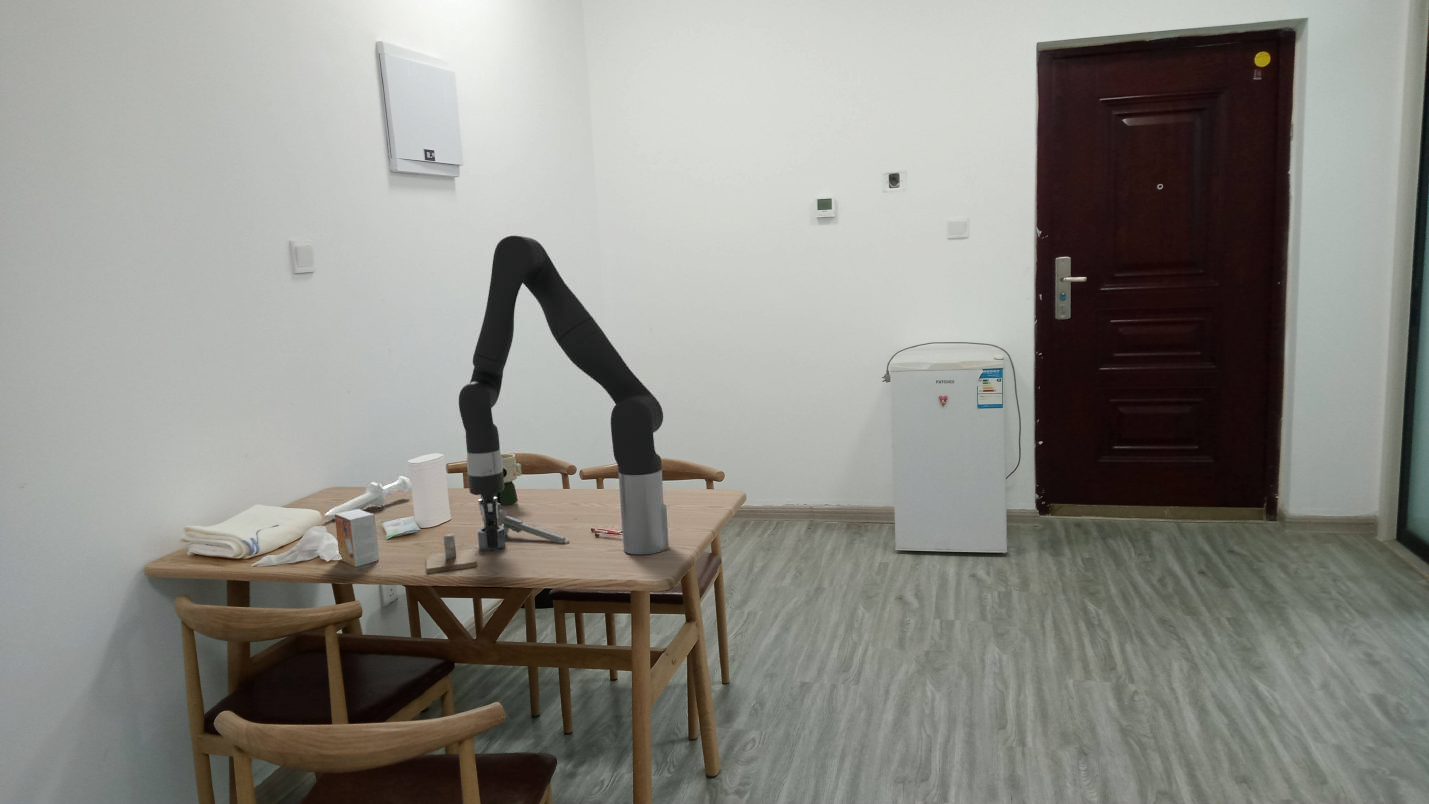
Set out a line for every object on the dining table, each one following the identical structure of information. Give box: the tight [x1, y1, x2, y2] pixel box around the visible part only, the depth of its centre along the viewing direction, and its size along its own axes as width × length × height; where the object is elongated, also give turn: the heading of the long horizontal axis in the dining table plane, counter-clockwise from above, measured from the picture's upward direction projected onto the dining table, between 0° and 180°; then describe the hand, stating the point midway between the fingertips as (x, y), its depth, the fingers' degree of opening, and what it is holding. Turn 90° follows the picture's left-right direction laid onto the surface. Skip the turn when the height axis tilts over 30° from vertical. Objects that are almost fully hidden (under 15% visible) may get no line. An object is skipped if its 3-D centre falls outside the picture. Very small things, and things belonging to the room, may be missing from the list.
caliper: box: [497, 509, 570, 545], centre depth 213 cm, size 20×1×6 cm, turn 62°
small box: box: [334, 509, 380, 568], centre depth 203 cm, size 8×6×10 cm
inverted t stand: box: [425, 533, 478, 574], centre depth 198 cm, size 10×10×6 cm
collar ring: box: [477, 525, 506, 552], centre depth 208 cm, size 6×6×4 cm
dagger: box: [323, 475, 412, 520], centre depth 246 cm, size 8×6×28 cm
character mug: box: [493, 453, 523, 507], centre depth 243 cm, size 11×7×13 cm, turn 70°
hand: (491, 541), depth 208 cm, fingers open, 8 cm apart
